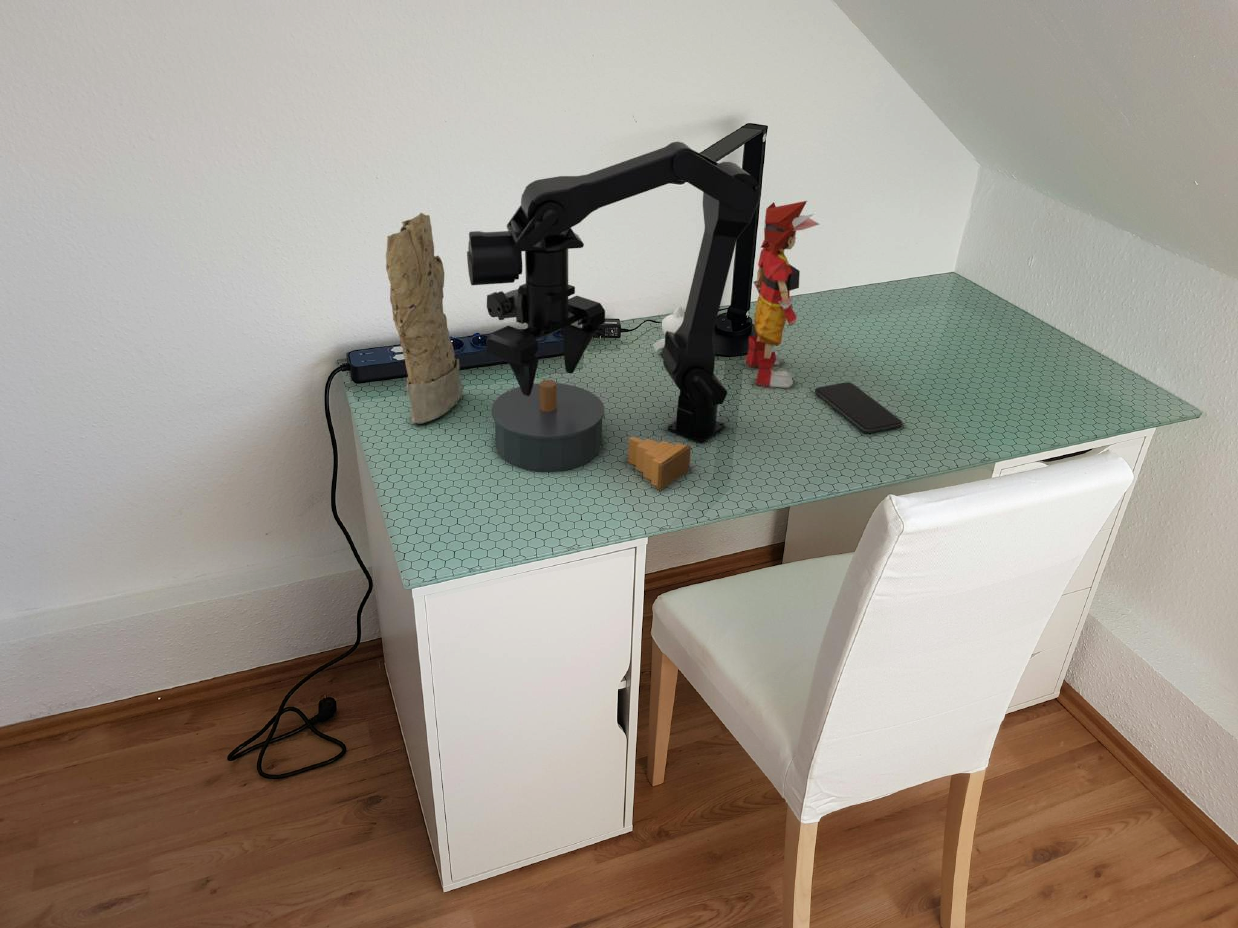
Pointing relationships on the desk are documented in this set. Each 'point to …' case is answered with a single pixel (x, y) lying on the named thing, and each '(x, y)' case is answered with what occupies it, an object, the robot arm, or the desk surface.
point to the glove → (422, 320)
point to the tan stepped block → (659, 460)
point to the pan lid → (548, 411)
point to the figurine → (670, 326)
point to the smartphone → (858, 407)
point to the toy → (775, 291)
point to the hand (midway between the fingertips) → (548, 383)
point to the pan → (548, 450)
